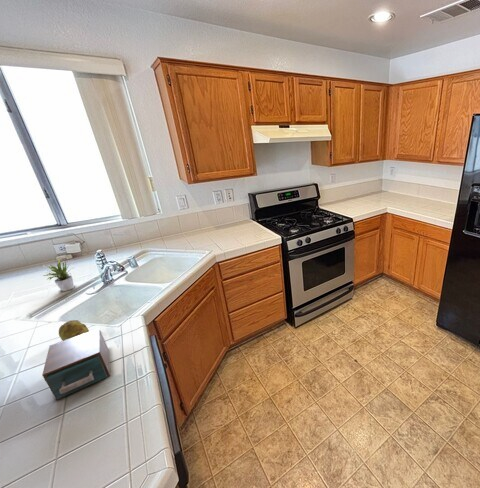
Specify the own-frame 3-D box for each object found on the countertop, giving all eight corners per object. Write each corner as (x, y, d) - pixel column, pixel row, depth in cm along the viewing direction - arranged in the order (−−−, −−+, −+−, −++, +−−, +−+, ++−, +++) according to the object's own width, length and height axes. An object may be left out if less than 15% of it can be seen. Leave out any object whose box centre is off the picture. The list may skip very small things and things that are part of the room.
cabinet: (110, 375, 83) (99, 352, 80) (56, 399, 76) (42, 374, 73) (108, 349, 95) (99, 327, 91) (61, 368, 87) (49, 345, 84)
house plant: (49, 288, 142) (36, 261, 137) (82, 279, 151) (71, 253, 145) (47, 298, 132) (33, 269, 127) (83, 287, 141) (71, 260, 135)
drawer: (107, 385, 79) (98, 365, 76) (55, 409, 72) (43, 388, 69) (105, 351, 92) (98, 334, 90) (62, 369, 86) (52, 350, 83)
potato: (64, 357, 92) (55, 338, 89) (63, 340, 101) (55, 323, 98) (94, 344, 98) (87, 327, 95) (91, 329, 106) (83, 313, 103)
